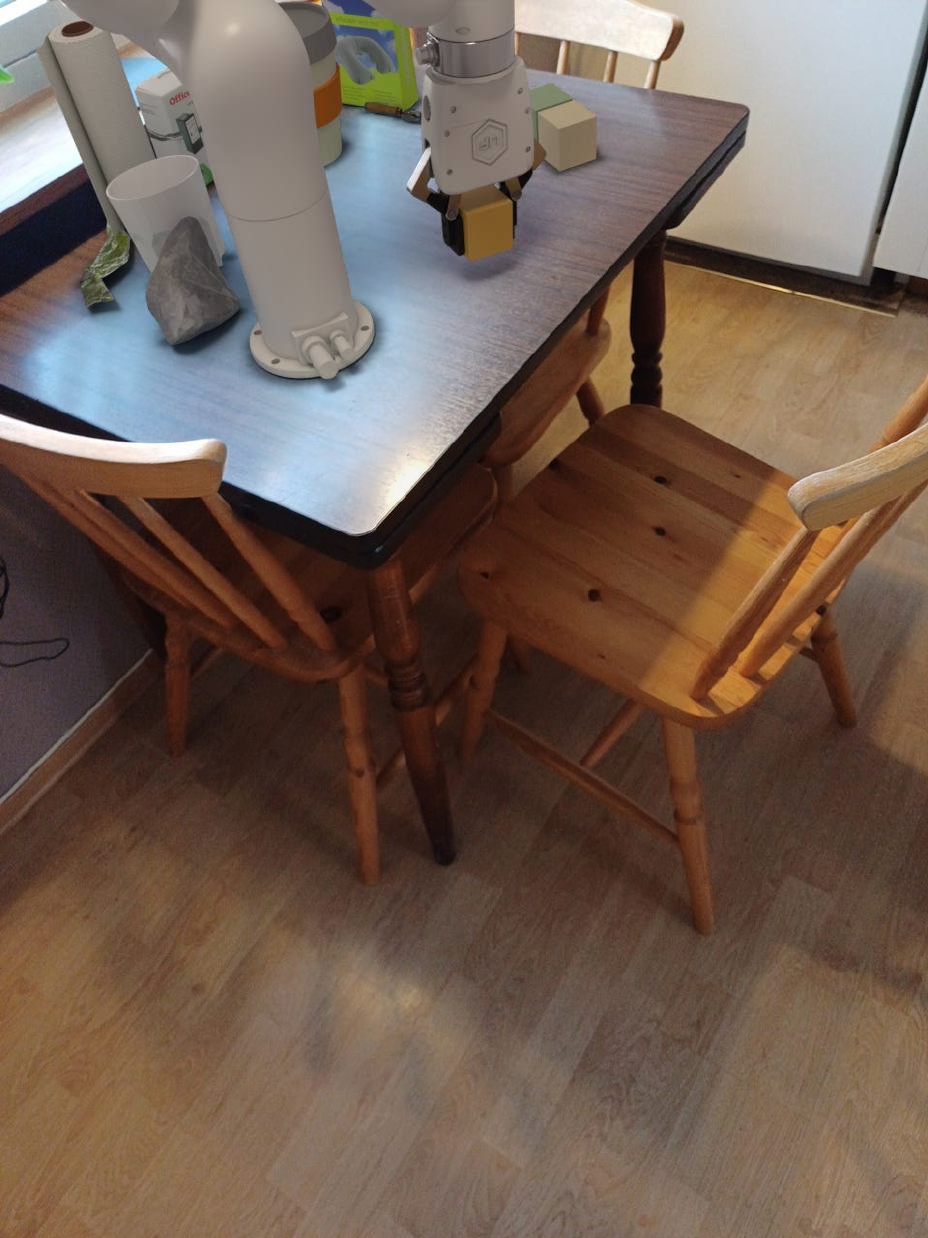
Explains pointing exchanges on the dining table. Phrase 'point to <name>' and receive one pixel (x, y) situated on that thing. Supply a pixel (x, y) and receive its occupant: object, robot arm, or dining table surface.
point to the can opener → (393, 111)
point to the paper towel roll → (96, 105)
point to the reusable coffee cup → (321, 72)
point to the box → (372, 56)
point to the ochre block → (486, 222)
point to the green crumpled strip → (105, 267)
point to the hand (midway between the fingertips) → (480, 239)
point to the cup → (163, 204)
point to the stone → (188, 286)
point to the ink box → (172, 119)
